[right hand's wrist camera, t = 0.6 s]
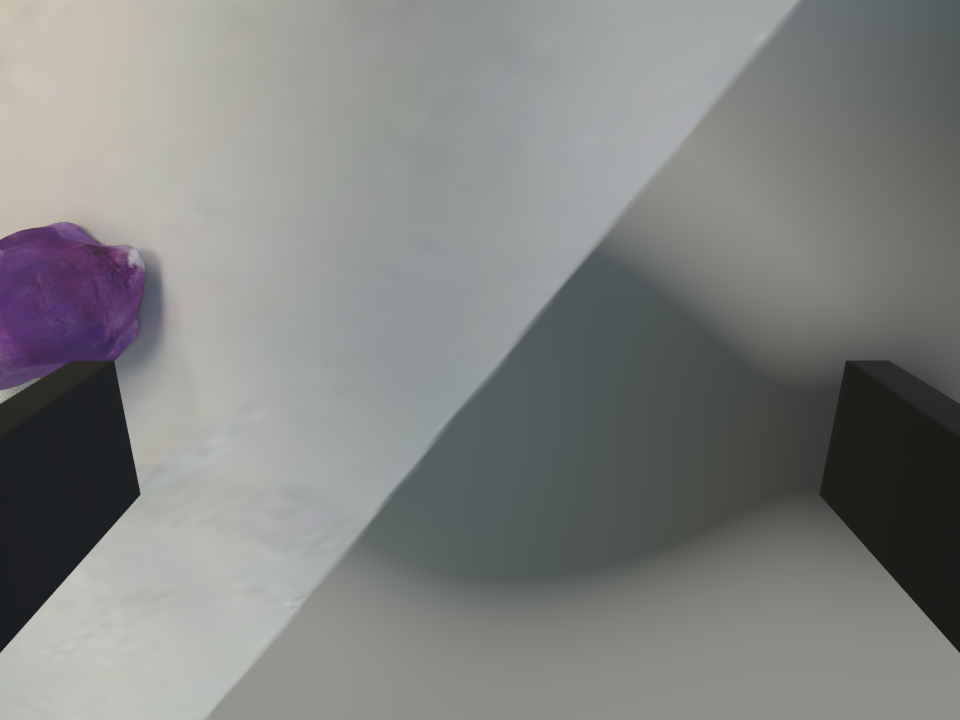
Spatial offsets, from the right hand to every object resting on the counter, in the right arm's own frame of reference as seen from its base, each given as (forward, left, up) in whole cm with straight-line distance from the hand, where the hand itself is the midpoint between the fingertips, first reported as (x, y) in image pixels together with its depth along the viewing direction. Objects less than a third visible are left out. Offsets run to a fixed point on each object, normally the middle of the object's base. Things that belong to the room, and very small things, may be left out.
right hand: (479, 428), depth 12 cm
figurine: (+6, -24, -28) cm, 37 cm away
